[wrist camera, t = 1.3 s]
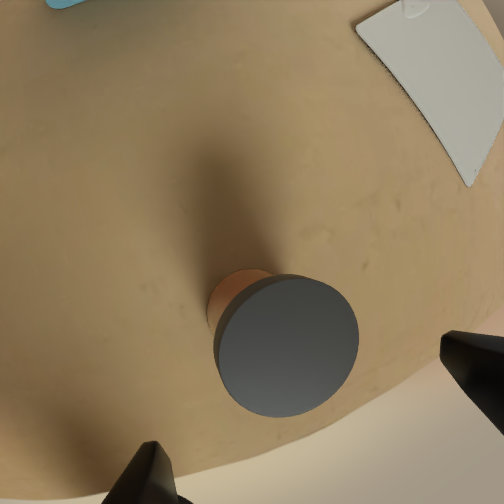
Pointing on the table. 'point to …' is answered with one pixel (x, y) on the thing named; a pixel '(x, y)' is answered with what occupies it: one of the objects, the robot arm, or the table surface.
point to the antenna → (443, 74)
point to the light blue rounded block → (62, 3)
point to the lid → (285, 345)
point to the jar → (230, 292)
